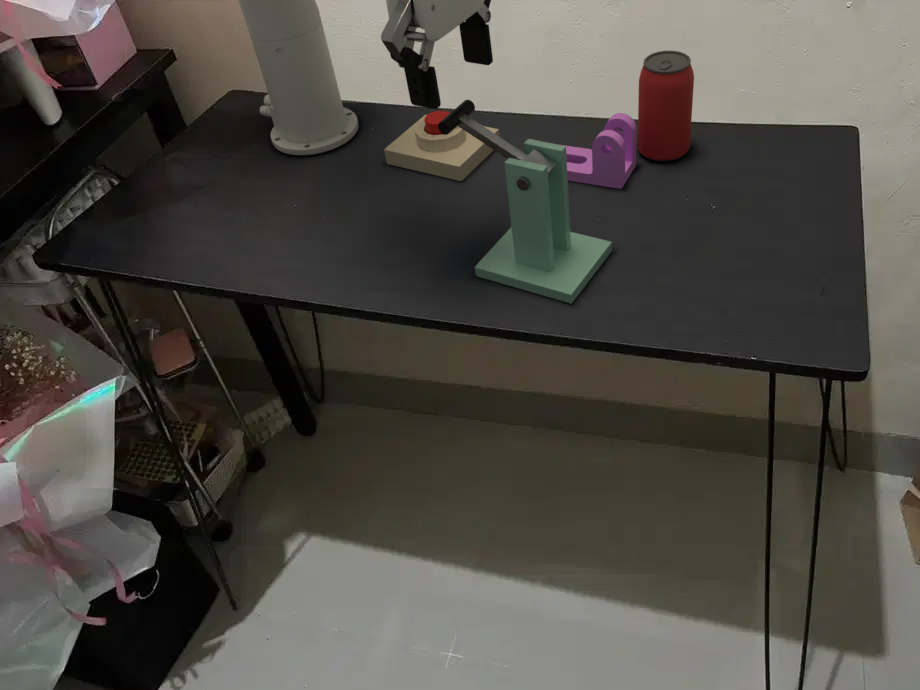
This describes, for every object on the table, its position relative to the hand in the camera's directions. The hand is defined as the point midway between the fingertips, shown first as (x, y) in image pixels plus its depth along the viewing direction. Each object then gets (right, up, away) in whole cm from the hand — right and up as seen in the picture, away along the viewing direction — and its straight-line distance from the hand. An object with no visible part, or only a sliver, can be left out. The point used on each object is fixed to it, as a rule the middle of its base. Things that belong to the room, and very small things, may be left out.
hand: (453, 83), depth 83 cm
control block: (-3, +1, +30) cm, 30 cm away
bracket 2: (+15, -3, +24) cm, 28 cm away
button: (-3, +3, +27) cm, 28 cm away
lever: (+4, -6, +3) cm, 8 cm away
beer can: (+26, 0, +25) cm, 36 cm away
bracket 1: (+10, -17, +10) cm, 22 cm away
